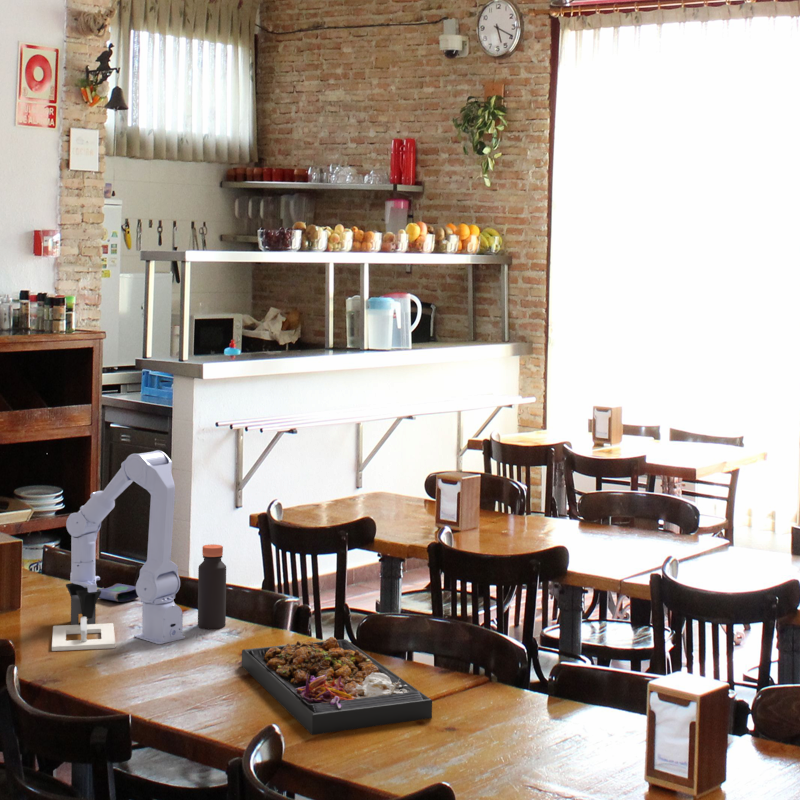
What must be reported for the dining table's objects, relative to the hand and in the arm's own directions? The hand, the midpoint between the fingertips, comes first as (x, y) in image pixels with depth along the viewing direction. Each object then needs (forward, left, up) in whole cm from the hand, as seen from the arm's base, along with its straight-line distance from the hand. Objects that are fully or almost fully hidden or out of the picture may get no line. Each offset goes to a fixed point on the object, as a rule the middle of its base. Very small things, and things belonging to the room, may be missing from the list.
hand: (83, 615), depth 295 cm
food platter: (-79, -4, -3) cm, 79 cm away
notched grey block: (0, 0, -2) cm, 2 cm away
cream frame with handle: (-12, +8, -2) cm, 14 cm away
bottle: (-25, -20, -2) cm, 32 cm away
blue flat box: (+9, -21, -3) cm, 23 cm away
